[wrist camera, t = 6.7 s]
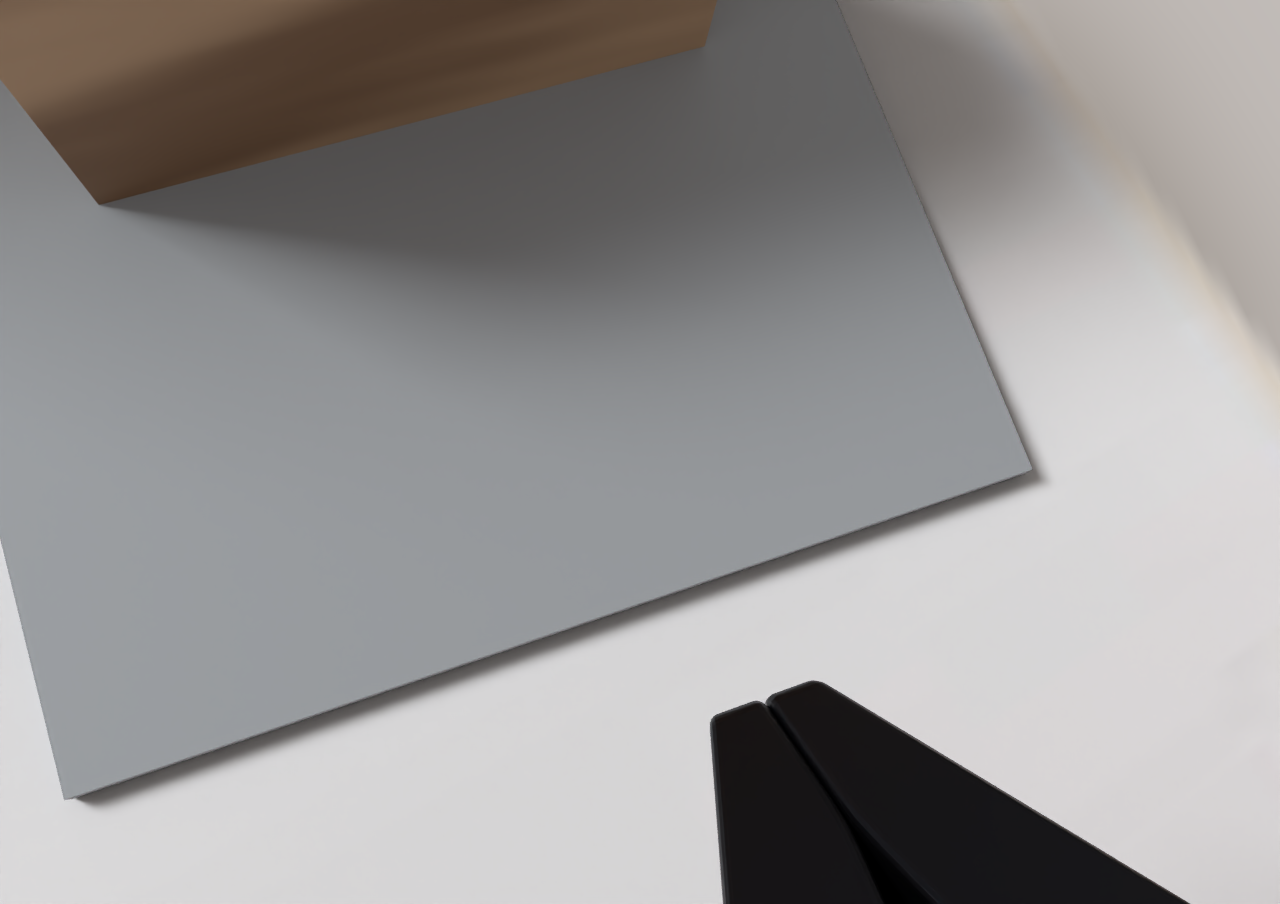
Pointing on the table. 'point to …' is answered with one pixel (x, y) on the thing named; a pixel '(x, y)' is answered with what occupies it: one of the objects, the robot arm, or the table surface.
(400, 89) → the t block
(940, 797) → the robot arm
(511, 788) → the table surface
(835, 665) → the table surface
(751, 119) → the runner mat
